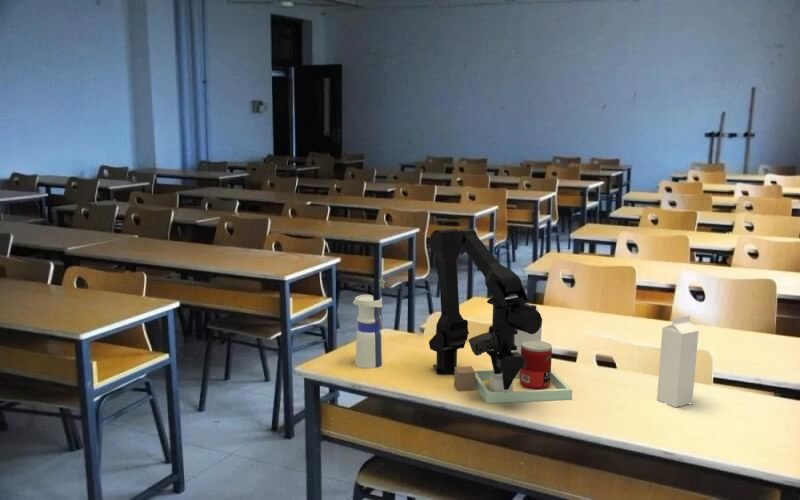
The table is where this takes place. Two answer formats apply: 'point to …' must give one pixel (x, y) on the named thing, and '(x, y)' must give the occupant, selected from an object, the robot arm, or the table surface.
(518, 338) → the pill bottle
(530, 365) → the canned food
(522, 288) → the robot arm
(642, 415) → the table surface
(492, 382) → the white block
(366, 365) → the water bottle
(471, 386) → the brown carton
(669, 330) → the milk
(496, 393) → the mint green rectangular frame
